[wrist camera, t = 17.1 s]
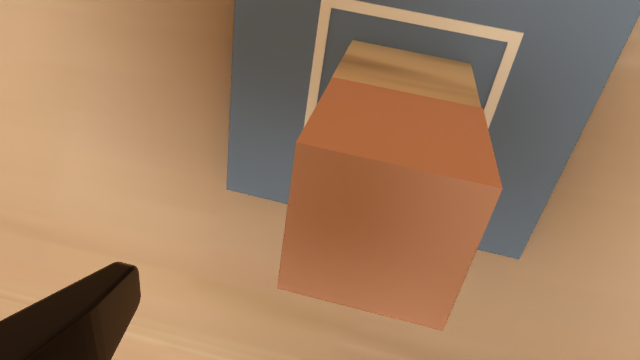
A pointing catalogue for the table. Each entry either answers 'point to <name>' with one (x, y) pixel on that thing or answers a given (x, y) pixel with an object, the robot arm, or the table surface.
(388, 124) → the terracotta block
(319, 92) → the board
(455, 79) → the maple block
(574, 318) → the table surface
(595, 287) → the table surface
